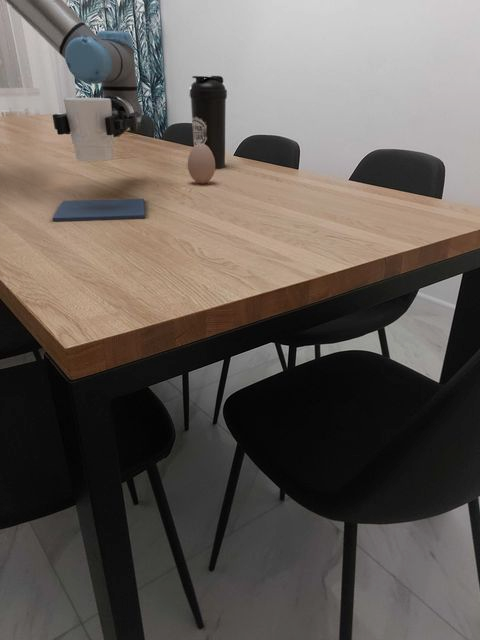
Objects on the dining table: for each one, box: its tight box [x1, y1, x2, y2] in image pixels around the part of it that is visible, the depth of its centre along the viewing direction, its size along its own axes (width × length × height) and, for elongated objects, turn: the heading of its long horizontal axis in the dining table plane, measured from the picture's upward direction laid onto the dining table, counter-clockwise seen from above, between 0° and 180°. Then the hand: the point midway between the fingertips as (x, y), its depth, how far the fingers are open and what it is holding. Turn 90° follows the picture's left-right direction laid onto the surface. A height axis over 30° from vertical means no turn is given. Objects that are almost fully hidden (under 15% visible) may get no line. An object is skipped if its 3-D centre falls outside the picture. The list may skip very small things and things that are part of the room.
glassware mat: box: [52, 198, 146, 222], centre depth 97 cm, size 16×14×1 cm
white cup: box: [63, 97, 115, 163], centre depth 90 cm, size 8×8×10 cm
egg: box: [187, 143, 216, 185], centre depth 120 cm, size 7×7×9 cm
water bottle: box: [188, 75, 228, 170], centre depth 139 cm, size 10×10×23 cm
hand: (83, 126), depth 85 cm, fingers closed on white cup, 8 cm apart
